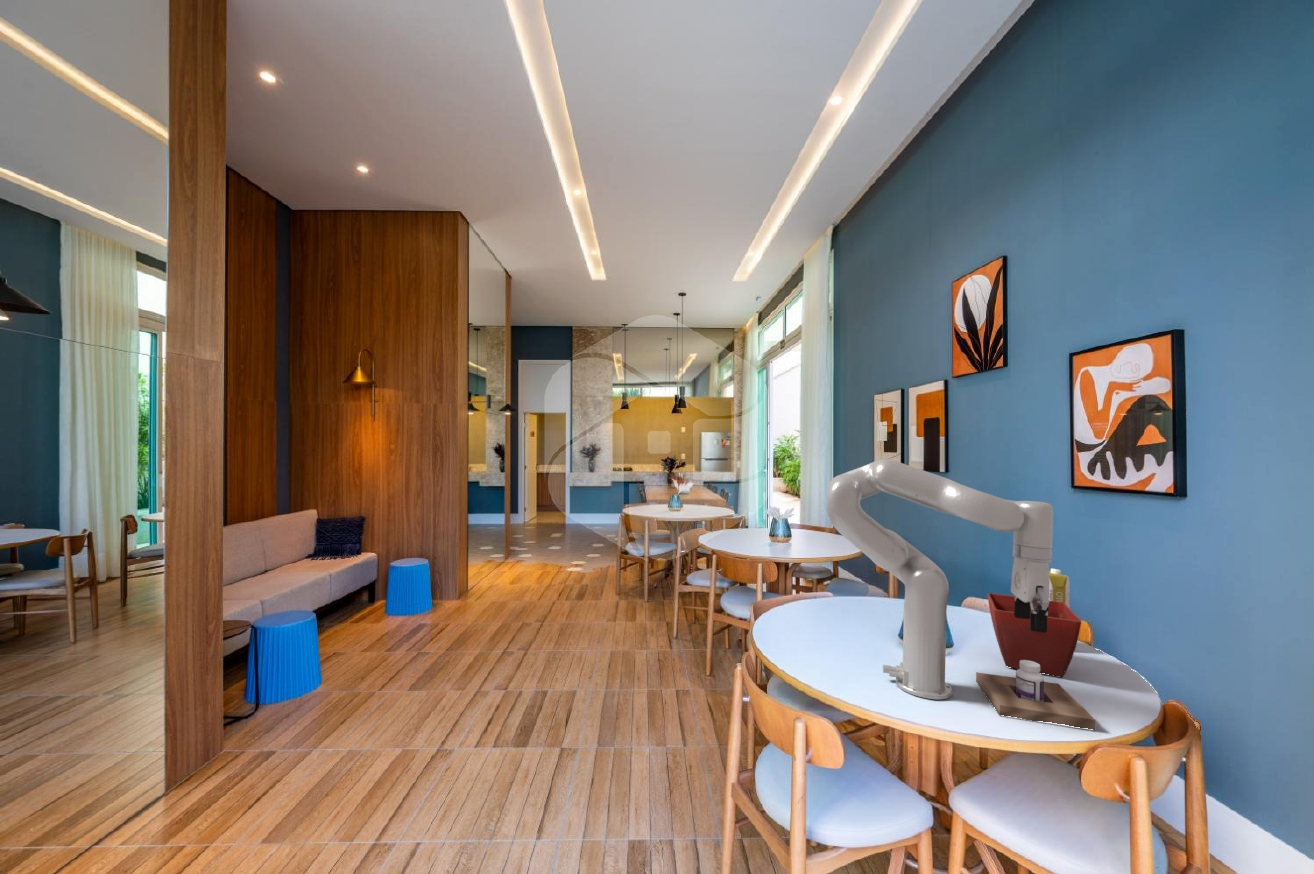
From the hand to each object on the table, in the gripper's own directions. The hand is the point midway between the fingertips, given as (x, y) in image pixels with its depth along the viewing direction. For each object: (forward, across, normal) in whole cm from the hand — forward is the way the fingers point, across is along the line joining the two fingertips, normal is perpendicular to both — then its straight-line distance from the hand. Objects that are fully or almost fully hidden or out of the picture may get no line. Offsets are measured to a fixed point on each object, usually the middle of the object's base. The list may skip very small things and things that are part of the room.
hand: (1029, 624), depth 122 cm
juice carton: (+19, -47, +22) cm, 55 cm away
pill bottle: (+19, 0, 0) cm, 19 cm away
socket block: (+19, 0, +1) cm, 19 cm away
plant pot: (+19, -27, +10) cm, 34 cm away
